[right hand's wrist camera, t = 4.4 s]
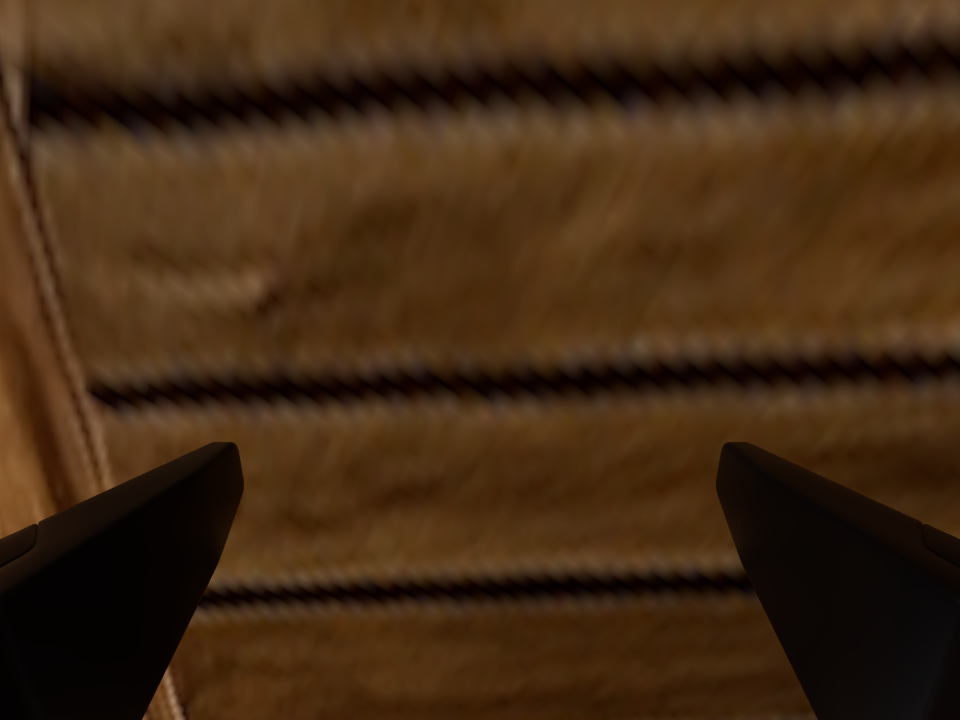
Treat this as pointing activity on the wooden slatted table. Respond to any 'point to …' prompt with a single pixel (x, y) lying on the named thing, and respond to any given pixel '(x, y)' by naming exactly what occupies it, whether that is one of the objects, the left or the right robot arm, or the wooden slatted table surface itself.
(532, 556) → the wooden slatted table surface
